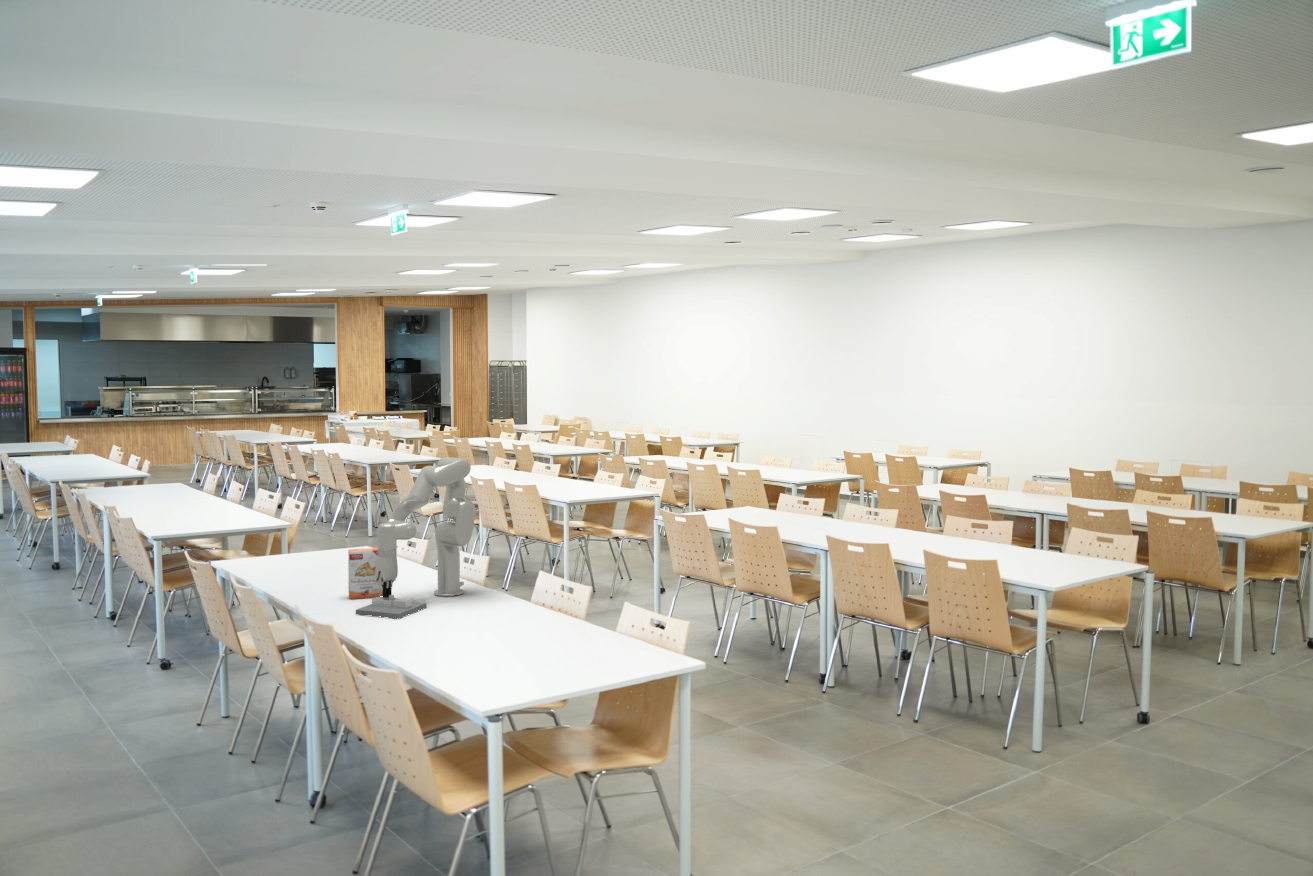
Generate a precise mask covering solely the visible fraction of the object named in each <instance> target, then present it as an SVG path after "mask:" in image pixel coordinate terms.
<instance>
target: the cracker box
mask: <svg viewBox="0 0 1313 876" xmlns="http://www.w3.org/2000/svg"><path fill="white" fill-rule="evenodd" d="M347 550H348V558H347V559H348V563H347V564H348V598H349V600H355V599H372V598H375V597H380V596H383V588H382V585H378V582H379V581H376V580H375V568H376V560H377V557H378V547H371V548H369V547H368V548H353V549H347Z"/></svg>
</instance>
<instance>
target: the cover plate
mask: <svg viewBox="0 0 1313 876" xmlns="http://www.w3.org/2000/svg"><path fill="white" fill-rule="evenodd" d="M394 598H395V595H394V594H391V595H389V600H394ZM426 607H427V602H420V601H411V607H410V608H407V609H400V608H386V607H379V606H372V603H370V604H368V605H365V606H362V607H359V608H357V609H355V615H356V614H360V615H359V616H364V615H372V616H371V617H374V616H381V617H380V618H384V617H388V618H387V619H394V618H398V619H397V620H400V619H402V617H403V616H405V617H407V616H409V615H408V614H410V615H412V614H414V613H413V612H415V613H417V612H419V611H418V610H420V611H421V609H422V610H424V609H423V608H425V609H427V608H428V607H427V608H426ZM416 611H417V612H416ZM411 613H412V614H411ZM406 615H407V616H406ZM399 618H400V619H399ZM403 618H404V617H403Z"/></svg>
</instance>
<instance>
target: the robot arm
mask: <svg viewBox="0 0 1313 876" xmlns="http://www.w3.org/2000/svg"><path fill="white" fill-rule="evenodd" d="M471 466H472V465H471V463H470V462H469V460H467V459H466V458H460V457H453V456H445V457H441V458H440V459H438V462H437V466H436V465H426V466H423V467H422V468H421V470H420V471H419V473H418V475H417V477H416V479H415V482H413V483H414V484H413V486H412V488H411V489H410V491H409V493H408V495H407V496H406V497H405V498H404V499H403V500H402V501H400V502H399V504H398V505H396V507H394V509H393V510H392V511H391V514H390V516H389V518H388V519H387V522H383V523H379V524H378V526H377V548H378V557H377V560H376V568H375V580H376V581H379V582H378V585H382V588H383V597H389V595H392V588H393V584H394V582H395V581H396V579H397V578H398V573H399V572H398V571H399V569H398V568H399V567H398V565H399V564H398V559H397V558H398V557H397V556H398V555H397V554H398V553H397V548H398V547H397V546H398V545H397V544H398V543H397V541H398V540H399V541H400V540H401V541H407V540H408V541H409V540H411V539H413V538H414V537H415V536H416V534H417V528H416V526H415V524H414V523H412V522H410V521H406V519H407V518H408V517H409V515H410V514H412V513H413V512H414V511H416V510H420V509H421V508H423V507H425V506H426V505H427V504H428V502H429V500H430V498H431V496H432V494H433V492H434V490H435V489H436V487H440V488H441V487H445V486H446V487H445V492H444V494H445V495H444V500H443V506H442V515H443V516H444V517H445V518H447V519H450V520H454V521H455V522H451V521H444V522H440V523H439V524H438V525H437V526H436V528H435V531H434V533H435V534H434V537H435V542H436V549H437V551H436V552H437V589H436V590H434V591H433V594H434V596H437V595H438V596H437V597H446V596H447V597H455V596H454V595H458V596H460V594H461V595H463V594H464V590H463V589H462V588H461V587H463V586H464V584H465V582H464V581H462V580H461V579H460V578H461V577H460V576H461V571H460V569H461V567H460V565H461V563H460V562H461V561H460V560H461V559H460V558H461V557H460V555H461V554H460V549H459V547H464V546H467V545H468V544H469V543H470V542H471V539H472V536H473V530H474V524H475V520H476V519H475V518H476V507H475V504H474V503H473V501H471V500H470V499H467V498H466V491H467V489H466V488H467V485H466V480H465V478H467V476H468V475H469V474H470V472H471V469H472V468H471ZM460 580H461V581H460Z"/></svg>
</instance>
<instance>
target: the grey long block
mask: <svg viewBox="0 0 1313 876" xmlns="http://www.w3.org/2000/svg"><path fill="white" fill-rule="evenodd" d="M411 602H412V599H411V598H410V599H408V598H399V597H394V600H389V597H374V598H371V604H372V606H379V607H386V608H400V609H407V608H410V607H411Z"/></svg>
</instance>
